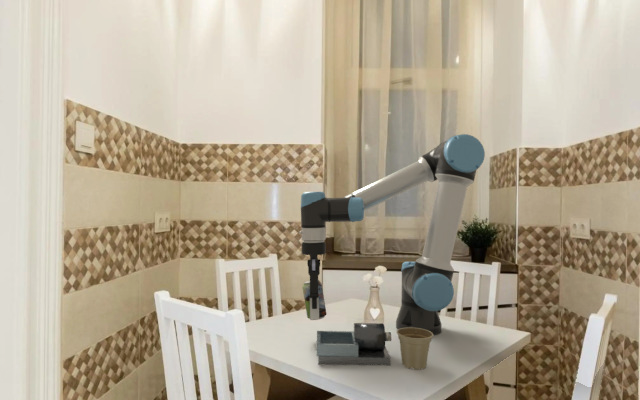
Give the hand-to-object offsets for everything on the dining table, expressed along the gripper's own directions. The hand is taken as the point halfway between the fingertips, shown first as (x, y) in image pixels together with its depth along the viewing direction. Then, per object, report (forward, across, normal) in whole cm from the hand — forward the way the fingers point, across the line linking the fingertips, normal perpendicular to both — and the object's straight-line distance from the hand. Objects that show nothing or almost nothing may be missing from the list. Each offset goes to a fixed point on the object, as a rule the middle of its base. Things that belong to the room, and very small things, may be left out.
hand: (314, 315), depth 127 cm
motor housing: (+8, +13, +10) cm, 18 cm away
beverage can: (+1, 0, 0) cm, 1 cm away
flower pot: (+9, +19, +26) cm, 34 cm away
